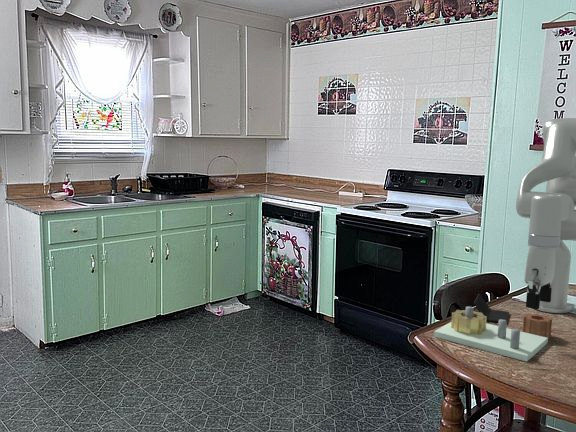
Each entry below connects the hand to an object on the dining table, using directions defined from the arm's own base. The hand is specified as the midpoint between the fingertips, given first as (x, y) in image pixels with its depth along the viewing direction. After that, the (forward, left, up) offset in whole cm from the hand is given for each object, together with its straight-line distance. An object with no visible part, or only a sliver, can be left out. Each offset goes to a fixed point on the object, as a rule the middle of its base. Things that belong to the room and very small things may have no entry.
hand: (538, 304), depth 144 cm
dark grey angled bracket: (-8, -15, -9) cm, 19 cm away
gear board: (+11, -8, -9) cm, 16 cm away
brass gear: (+11, -14, -7) cm, 19 cm away
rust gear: (-1, 0, -9) cm, 9 cm away
